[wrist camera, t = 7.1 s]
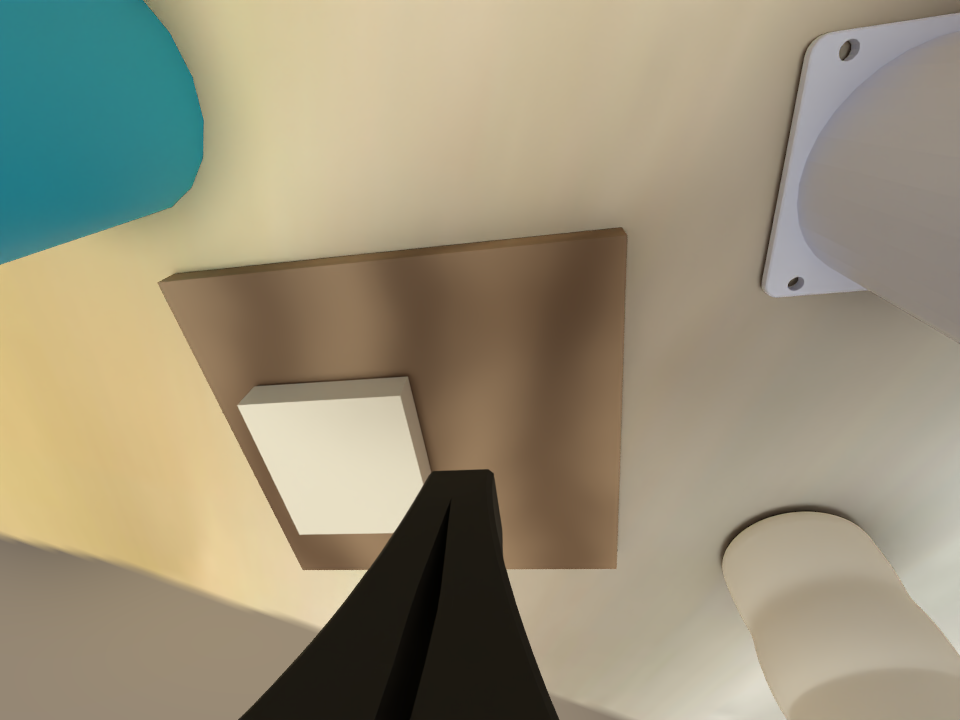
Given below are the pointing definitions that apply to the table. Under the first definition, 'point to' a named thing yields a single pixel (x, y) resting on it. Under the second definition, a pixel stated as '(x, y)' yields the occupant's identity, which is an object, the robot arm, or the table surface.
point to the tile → (340, 451)
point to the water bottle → (838, 624)
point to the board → (445, 372)
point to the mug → (90, 120)
